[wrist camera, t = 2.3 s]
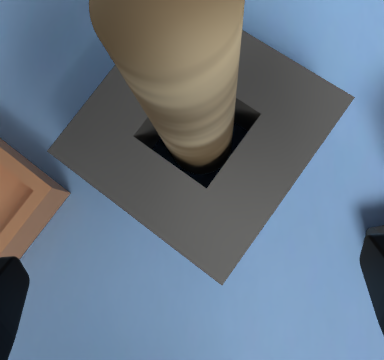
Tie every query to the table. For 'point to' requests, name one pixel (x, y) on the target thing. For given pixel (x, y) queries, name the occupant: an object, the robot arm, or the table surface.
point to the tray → (24, 201)
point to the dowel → (179, 69)
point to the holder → (227, 176)
